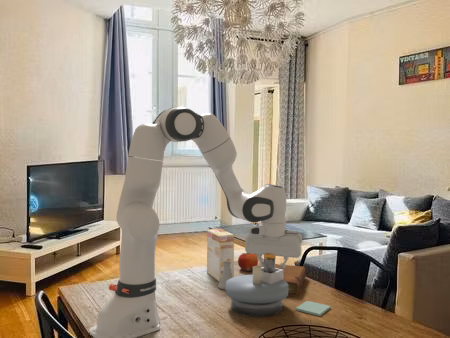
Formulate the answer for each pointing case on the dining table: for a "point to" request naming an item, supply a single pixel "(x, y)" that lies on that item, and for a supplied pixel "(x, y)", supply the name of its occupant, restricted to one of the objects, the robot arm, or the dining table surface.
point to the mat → (313, 308)
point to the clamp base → (256, 308)
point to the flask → (225, 275)
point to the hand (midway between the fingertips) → (272, 267)
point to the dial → (258, 286)
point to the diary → (293, 278)
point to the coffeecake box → (219, 252)
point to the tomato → (247, 261)
